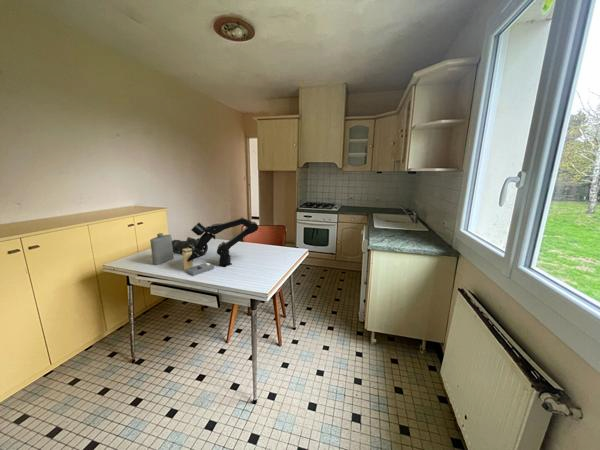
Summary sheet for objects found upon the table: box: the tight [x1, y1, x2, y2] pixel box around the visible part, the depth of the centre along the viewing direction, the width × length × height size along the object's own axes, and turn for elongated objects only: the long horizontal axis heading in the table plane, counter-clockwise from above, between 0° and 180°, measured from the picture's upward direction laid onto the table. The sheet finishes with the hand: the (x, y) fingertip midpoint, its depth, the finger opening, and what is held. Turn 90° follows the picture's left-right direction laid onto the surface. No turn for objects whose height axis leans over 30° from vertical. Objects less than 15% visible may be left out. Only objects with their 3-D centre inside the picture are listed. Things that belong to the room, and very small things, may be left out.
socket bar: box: [185, 262, 215, 277], centre depth 146 cm, size 14×8×3 cm, turn 143°
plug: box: [182, 248, 194, 272], centre depth 146 cm, size 4×4×14 cm
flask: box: [150, 232, 174, 266], centre depth 158 cm, size 15×6×20 cm, turn 163°
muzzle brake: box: [172, 239, 209, 256], centre depth 175 cm, size 10×28×10 cm, turn 78°
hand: (186, 259), depth 146 cm, fingers open, 9 cm apart
